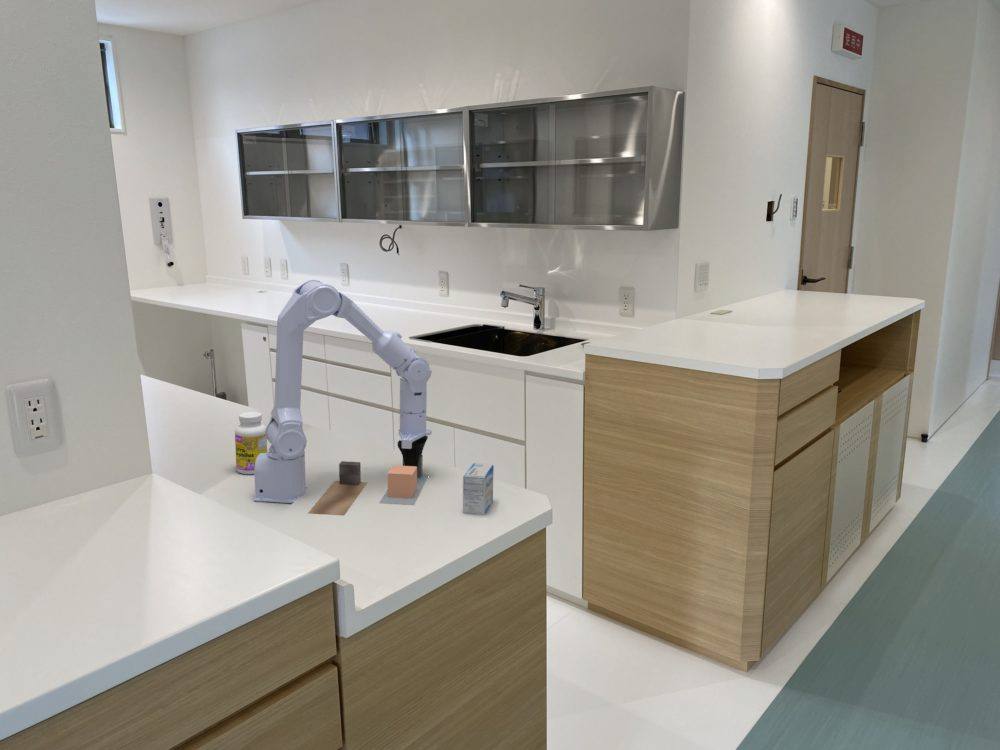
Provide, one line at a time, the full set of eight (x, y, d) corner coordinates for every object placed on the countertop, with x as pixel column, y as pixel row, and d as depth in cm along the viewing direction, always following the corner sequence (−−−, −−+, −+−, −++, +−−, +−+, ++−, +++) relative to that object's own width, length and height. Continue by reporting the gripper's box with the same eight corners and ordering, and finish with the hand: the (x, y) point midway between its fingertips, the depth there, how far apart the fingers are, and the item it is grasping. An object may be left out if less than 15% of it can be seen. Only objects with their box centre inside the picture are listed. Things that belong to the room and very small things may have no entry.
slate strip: (378, 506, 148) (378, 481, 147) (397, 476, 166) (397, 453, 165) (414, 508, 148) (414, 483, 147) (429, 477, 166) (429, 455, 164)
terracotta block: (387, 496, 152) (387, 473, 151) (393, 488, 157) (393, 465, 155) (412, 498, 151) (412, 474, 150) (416, 489, 156) (417, 466, 155)
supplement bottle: (229, 472, 165) (227, 415, 163) (250, 463, 171) (248, 409, 169) (254, 477, 163) (252, 419, 160) (274, 468, 169) (272, 412, 166)
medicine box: (484, 520, 144) (485, 477, 142) (461, 517, 145) (462, 474, 143) (493, 505, 152) (494, 464, 150) (471, 503, 152) (472, 462, 151)
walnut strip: (307, 517, 142) (307, 491, 141) (335, 484, 160) (334, 460, 159) (344, 519, 142) (343, 493, 141) (367, 486, 160) (367, 462, 158)
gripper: (425, 420, 154) (425, 483, 157) (436, 403, 168) (436, 461, 171) (391, 418, 155) (391, 481, 158) (405, 401, 169) (405, 459, 172)
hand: (412, 470), depth 164 cm, fingers closed on slate strip, 2 cm apart
